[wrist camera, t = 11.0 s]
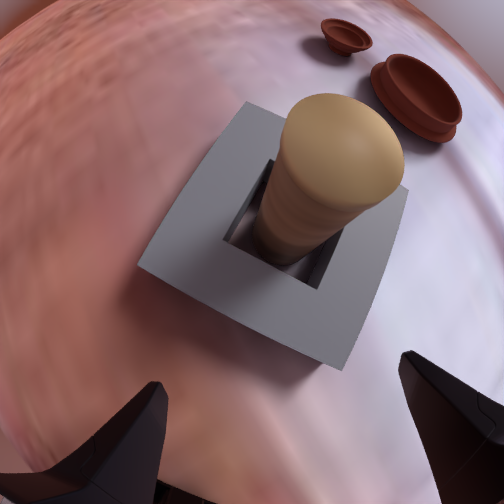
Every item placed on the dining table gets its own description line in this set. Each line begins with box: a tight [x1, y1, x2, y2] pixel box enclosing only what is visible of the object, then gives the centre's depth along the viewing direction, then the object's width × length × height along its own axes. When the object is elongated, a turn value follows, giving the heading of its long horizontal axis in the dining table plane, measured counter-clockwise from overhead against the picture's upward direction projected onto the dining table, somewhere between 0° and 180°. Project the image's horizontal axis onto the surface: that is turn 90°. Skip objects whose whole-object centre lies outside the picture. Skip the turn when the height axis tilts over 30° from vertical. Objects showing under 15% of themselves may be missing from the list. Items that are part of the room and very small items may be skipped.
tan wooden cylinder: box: [252, 93, 404, 265], centre depth 15 cm, size 5×5×12 cm
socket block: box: [137, 101, 409, 371], centre depth 20 cm, size 14×14×4 cm
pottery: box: [321, 19, 462, 143], centre depth 24 cm, size 12×20×4 cm, turn 41°
